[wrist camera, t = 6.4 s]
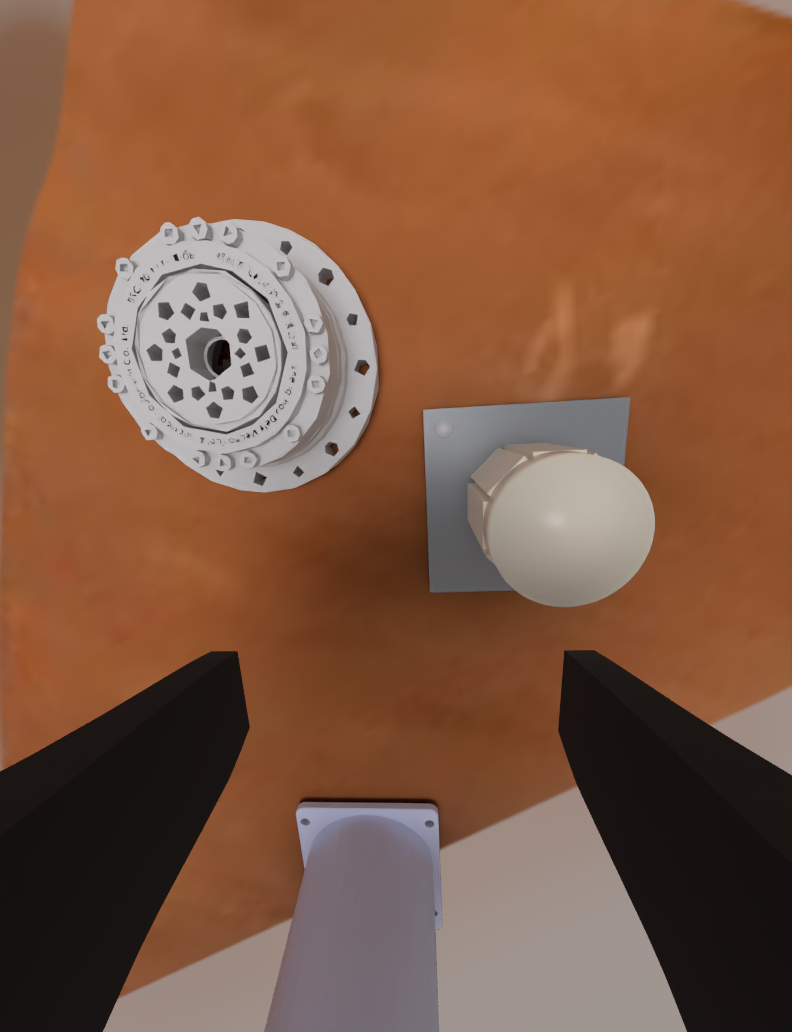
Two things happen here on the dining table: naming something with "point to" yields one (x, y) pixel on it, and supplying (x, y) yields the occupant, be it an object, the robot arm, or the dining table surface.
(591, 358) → the dining table surface
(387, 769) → the dining table surface
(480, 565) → the plate
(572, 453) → the wire nut
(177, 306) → the mechanical component
